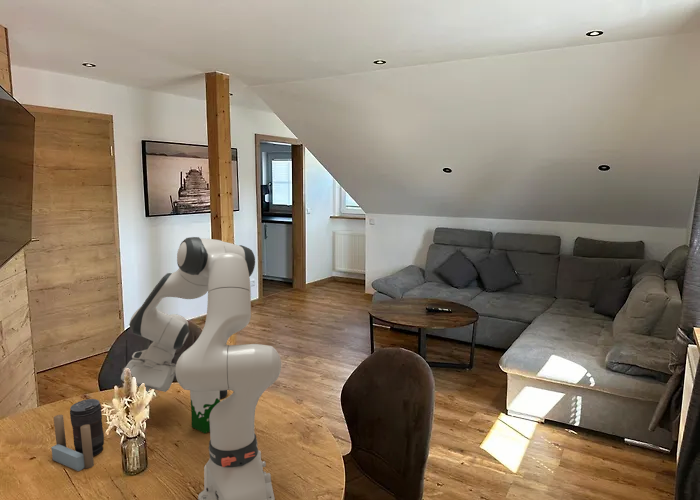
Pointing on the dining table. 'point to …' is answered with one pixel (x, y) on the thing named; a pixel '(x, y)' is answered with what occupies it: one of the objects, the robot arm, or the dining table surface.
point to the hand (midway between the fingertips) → (135, 399)
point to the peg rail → (68, 455)
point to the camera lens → (84, 415)
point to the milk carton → (203, 408)
